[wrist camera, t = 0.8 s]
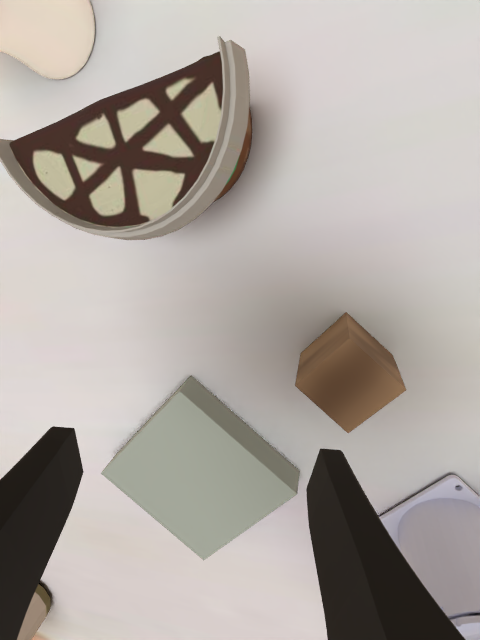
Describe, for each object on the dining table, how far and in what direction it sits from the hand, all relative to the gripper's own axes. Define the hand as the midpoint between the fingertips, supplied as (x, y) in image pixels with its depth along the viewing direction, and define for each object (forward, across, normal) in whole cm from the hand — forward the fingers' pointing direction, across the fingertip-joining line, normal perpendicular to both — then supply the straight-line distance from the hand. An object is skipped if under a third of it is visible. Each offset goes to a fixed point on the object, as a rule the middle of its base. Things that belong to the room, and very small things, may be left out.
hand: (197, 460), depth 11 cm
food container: (+19, +2, -4) cm, 20 cm away
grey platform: (+14, 0, +19) cm, 24 cm away
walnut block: (+14, -9, +6) cm, 18 cm away
